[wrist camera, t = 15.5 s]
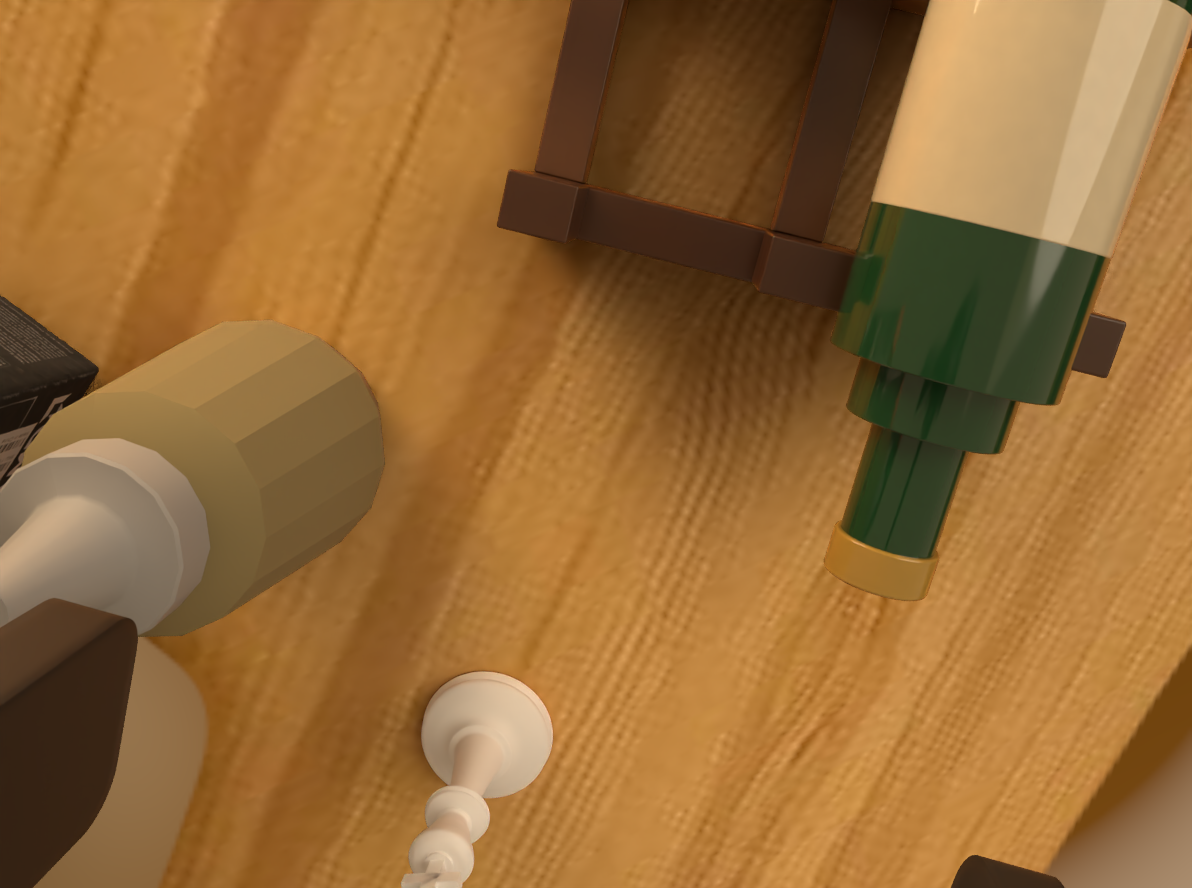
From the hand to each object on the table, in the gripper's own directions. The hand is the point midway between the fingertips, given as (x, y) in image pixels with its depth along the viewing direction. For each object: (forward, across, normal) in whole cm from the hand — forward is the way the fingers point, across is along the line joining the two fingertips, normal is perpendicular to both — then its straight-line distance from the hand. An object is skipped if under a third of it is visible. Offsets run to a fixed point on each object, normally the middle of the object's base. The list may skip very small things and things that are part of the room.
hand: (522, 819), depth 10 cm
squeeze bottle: (+28, +11, +5) cm, 30 cm away
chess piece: (+28, +2, +14) cm, 32 cm away
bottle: (+23, -8, -7) cm, 25 cm away
